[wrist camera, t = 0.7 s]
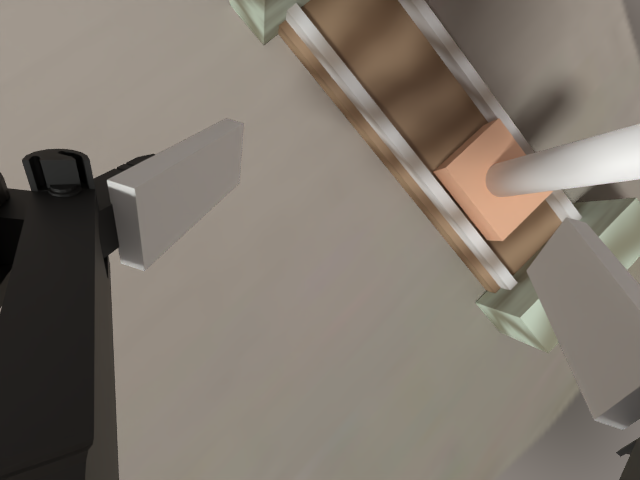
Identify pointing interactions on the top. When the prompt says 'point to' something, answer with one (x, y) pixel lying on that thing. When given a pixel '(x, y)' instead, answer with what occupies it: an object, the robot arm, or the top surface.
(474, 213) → the carriage
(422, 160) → the rail
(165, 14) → the top surface
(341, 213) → the top surface
